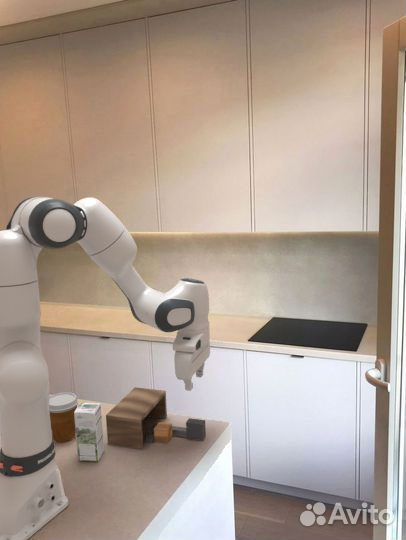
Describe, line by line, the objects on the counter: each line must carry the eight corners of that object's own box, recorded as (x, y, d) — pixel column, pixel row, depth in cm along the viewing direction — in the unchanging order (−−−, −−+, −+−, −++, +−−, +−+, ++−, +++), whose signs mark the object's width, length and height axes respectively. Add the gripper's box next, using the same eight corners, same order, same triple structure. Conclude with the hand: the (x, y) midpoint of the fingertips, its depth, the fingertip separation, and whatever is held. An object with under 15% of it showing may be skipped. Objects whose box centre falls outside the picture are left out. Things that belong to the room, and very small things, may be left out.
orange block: (167, 443, 139) (167, 430, 138) (154, 441, 140) (153, 428, 139) (172, 436, 142) (172, 423, 142) (159, 434, 144) (159, 421, 143)
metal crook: (198, 449, 135) (197, 432, 134) (146, 442, 140) (145, 425, 139) (205, 436, 142) (205, 420, 141) (156, 429, 146) (155, 414, 145)
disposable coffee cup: (40, 442, 141) (37, 404, 139) (60, 426, 150) (57, 390, 147) (69, 447, 138) (65, 408, 135) (87, 431, 147) (84, 393, 144)
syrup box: (104, 450, 136) (101, 401, 133) (98, 462, 130) (94, 412, 127) (85, 449, 136) (81, 401, 134) (77, 462, 131) (73, 411, 128)
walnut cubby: (141, 449, 136) (139, 419, 134) (107, 444, 139) (105, 415, 137) (166, 417, 153) (165, 390, 152) (136, 413, 157) (134, 387, 155)
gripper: (194, 324, 146) (195, 368, 149) (169, 346, 127) (171, 396, 129) (214, 326, 144) (215, 370, 147) (192, 348, 125) (193, 399, 127)
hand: (194, 382), depth 138 cm, fingers open, 8 cm apart
